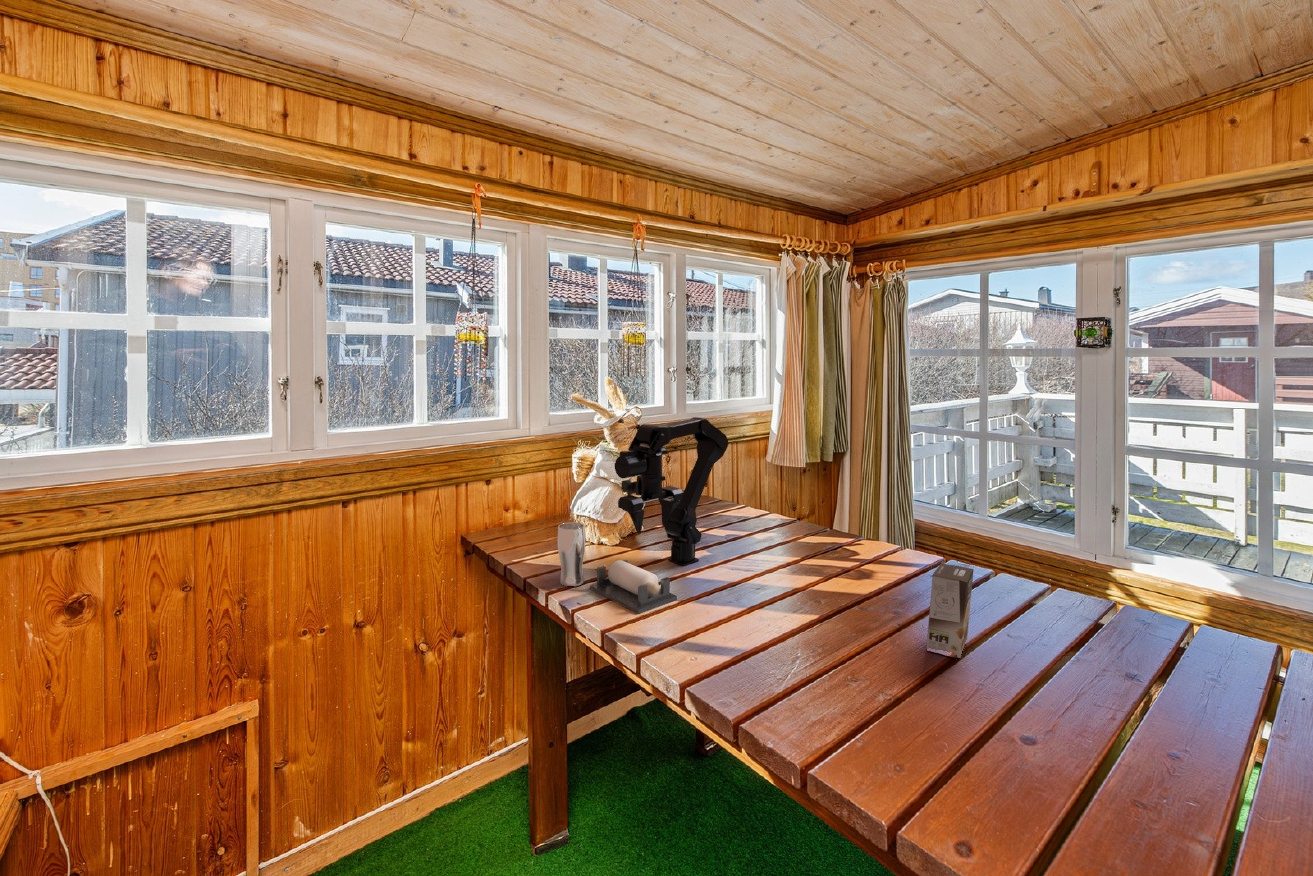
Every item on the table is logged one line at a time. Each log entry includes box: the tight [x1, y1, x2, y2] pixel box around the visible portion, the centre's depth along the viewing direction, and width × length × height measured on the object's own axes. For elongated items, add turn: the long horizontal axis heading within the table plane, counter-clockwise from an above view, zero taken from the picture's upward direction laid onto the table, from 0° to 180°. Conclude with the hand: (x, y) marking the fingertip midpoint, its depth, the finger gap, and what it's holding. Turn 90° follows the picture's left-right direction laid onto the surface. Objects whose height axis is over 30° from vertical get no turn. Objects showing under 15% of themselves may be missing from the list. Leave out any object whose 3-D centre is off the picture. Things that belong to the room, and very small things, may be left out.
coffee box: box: [926, 563, 975, 659], centre depth 122 cm, size 9×6×16 cm
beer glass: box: [557, 521, 586, 587], centre depth 154 cm, size 7×7×15 cm
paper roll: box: [607, 559, 661, 597], centre depth 148 cm, size 17×6×6 cm, turn 42°
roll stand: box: [589, 559, 678, 615], centre depth 148 cm, size 12×19×6 cm, turn 41°
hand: (651, 529), depth 162 cm, fingers open, 9 cm apart
